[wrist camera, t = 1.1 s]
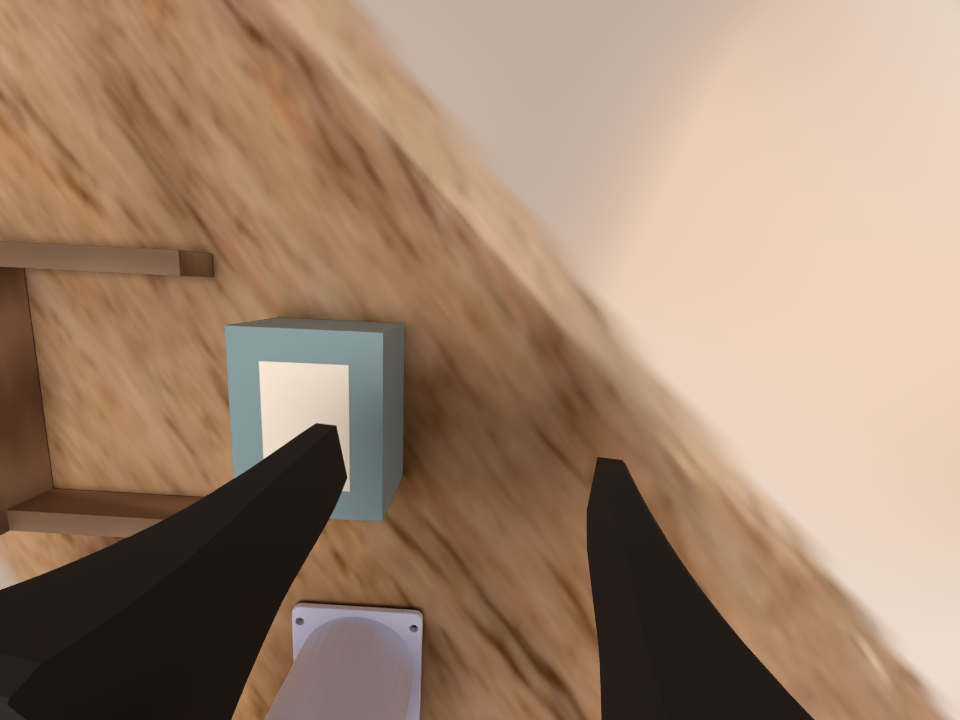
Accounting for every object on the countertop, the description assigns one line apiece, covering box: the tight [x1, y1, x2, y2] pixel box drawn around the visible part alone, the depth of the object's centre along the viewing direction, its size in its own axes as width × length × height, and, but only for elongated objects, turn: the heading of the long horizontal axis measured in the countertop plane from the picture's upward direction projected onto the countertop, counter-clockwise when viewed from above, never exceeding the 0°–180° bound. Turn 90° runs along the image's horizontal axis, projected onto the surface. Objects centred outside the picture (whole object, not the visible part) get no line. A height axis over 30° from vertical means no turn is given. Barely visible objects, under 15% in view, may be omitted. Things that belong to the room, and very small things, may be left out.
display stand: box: [0, 242, 213, 538], centre depth 21 cm, size 15×12×6 cm
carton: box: [225, 317, 405, 522], centre depth 22 cm, size 9×7×5 cm
